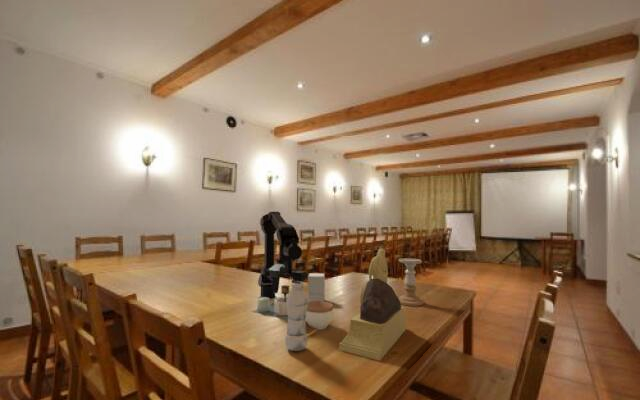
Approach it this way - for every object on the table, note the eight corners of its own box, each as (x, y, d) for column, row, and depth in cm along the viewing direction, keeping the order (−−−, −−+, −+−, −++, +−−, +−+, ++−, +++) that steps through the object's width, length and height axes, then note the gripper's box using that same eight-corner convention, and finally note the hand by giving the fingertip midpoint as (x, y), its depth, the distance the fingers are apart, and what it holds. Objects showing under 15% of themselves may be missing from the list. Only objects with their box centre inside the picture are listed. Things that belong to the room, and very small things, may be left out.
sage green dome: (254, 311, 126) (255, 299, 126) (262, 308, 130) (263, 296, 130) (264, 313, 123) (264, 301, 123) (271, 310, 127) (272, 298, 128)
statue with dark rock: (372, 322, 116) (372, 244, 118) (406, 329, 110) (406, 246, 111) (339, 350, 92) (340, 250, 94) (379, 361, 86) (380, 254, 87)
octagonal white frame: (268, 314, 123) (268, 301, 123) (282, 307, 131) (283, 296, 131) (284, 317, 118) (285, 304, 119) (299, 311, 127) (299, 299, 127)
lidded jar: (311, 334, 104) (312, 306, 105) (299, 324, 114) (299, 298, 114) (338, 329, 109) (338, 302, 110) (324, 319, 119) (324, 295, 119)
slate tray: (251, 313, 125) (251, 311, 125) (275, 303, 139) (275, 302, 139) (295, 323, 114) (295, 321, 114) (316, 311, 128) (316, 310, 128)
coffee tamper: (275, 309, 124) (275, 286, 125) (283, 305, 129) (284, 283, 130) (286, 311, 121) (286, 288, 122) (294, 308, 126) (295, 285, 127)
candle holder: (427, 306, 138) (427, 261, 139) (400, 306, 138) (400, 261, 139) (419, 299, 150) (419, 258, 151) (394, 298, 150) (394, 257, 151)
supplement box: (324, 299, 147) (325, 273, 147) (323, 304, 139) (323, 276, 140) (309, 299, 147) (310, 272, 148) (307, 303, 140) (308, 275, 141)
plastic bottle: (285, 345, 95) (286, 280, 96) (306, 344, 96) (307, 280, 97) (284, 354, 89) (286, 285, 90) (307, 354, 89) (308, 285, 90)
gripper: (255, 256, 124) (254, 295, 123) (293, 260, 115) (292, 302, 114) (273, 254, 134) (272, 290, 133) (308, 257, 124) (308, 296, 124)
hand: (285, 294), depth 126 cm, fingers open, 9 cm apart
